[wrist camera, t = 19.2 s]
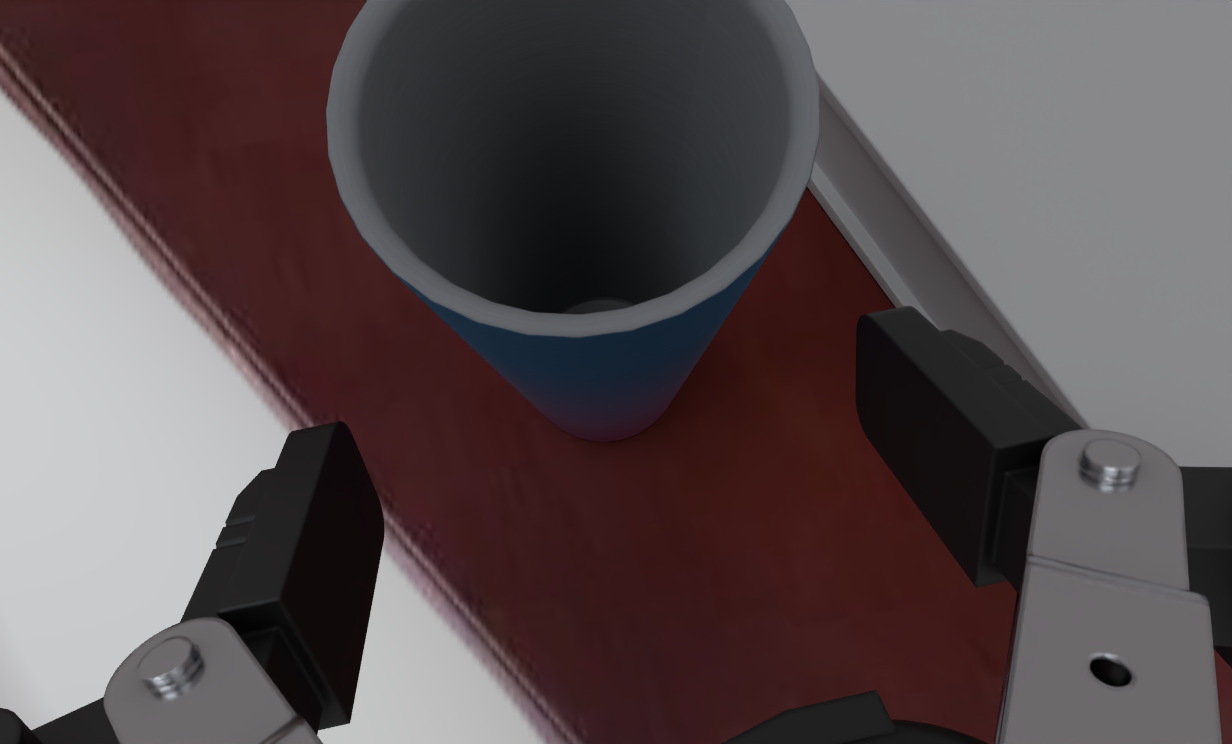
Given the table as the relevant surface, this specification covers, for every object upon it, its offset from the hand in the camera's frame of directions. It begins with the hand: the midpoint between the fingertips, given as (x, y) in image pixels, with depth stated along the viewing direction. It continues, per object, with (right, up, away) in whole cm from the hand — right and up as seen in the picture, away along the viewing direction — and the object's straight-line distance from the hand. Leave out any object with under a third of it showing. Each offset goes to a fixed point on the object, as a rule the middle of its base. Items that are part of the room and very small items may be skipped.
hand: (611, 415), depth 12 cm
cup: (0, +1, +8) cm, 8 cm away
